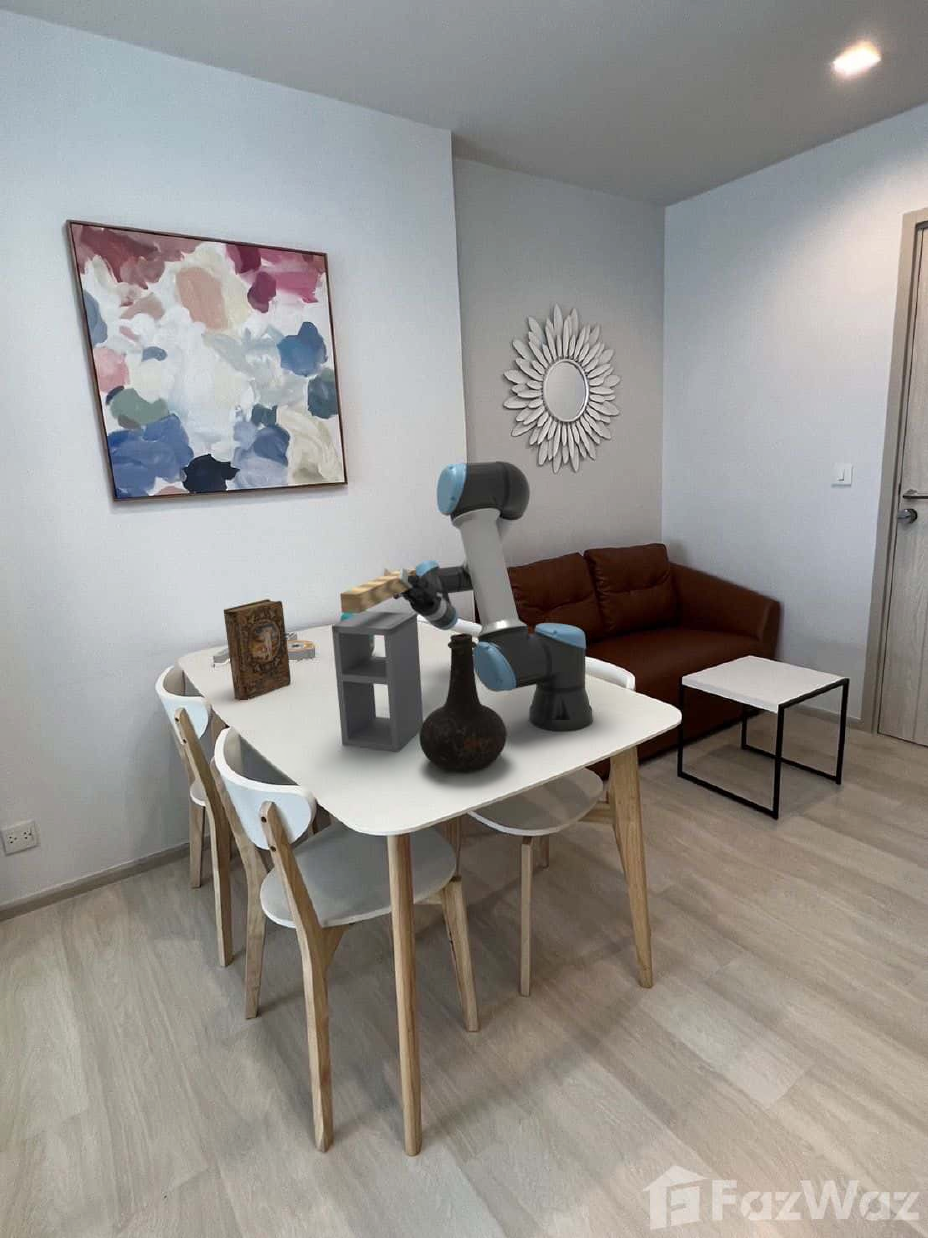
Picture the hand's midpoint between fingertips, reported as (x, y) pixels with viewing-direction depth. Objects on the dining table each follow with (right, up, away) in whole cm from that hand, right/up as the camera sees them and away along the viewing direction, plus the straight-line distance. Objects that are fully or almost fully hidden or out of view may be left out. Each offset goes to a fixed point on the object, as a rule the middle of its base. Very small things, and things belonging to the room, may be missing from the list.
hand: (391, 573), depth 156 cm
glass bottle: (+17, -41, -16) cm, 47 cm away
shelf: (-2, -38, 0) cm, 38 cm away
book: (-40, -31, +34) cm, 61 cm away
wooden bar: (-2, -6, -4) cm, 7 cm away
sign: (-46, -23, +69) cm, 86 cm away
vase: (-17, -23, +61) cm, 68 cm away
